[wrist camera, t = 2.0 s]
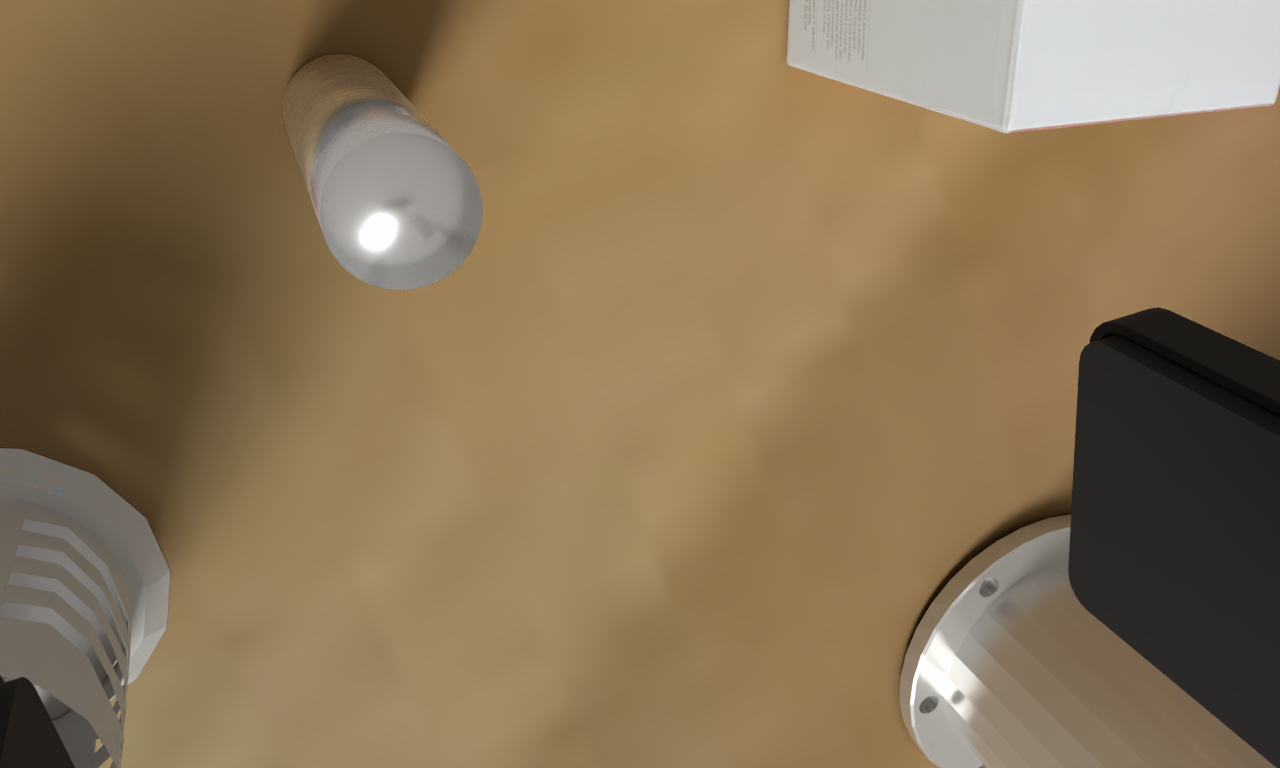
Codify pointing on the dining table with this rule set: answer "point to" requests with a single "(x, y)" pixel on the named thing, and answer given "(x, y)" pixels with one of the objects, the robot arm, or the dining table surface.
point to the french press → (76, 597)
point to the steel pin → (379, 175)
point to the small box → (1046, 56)
